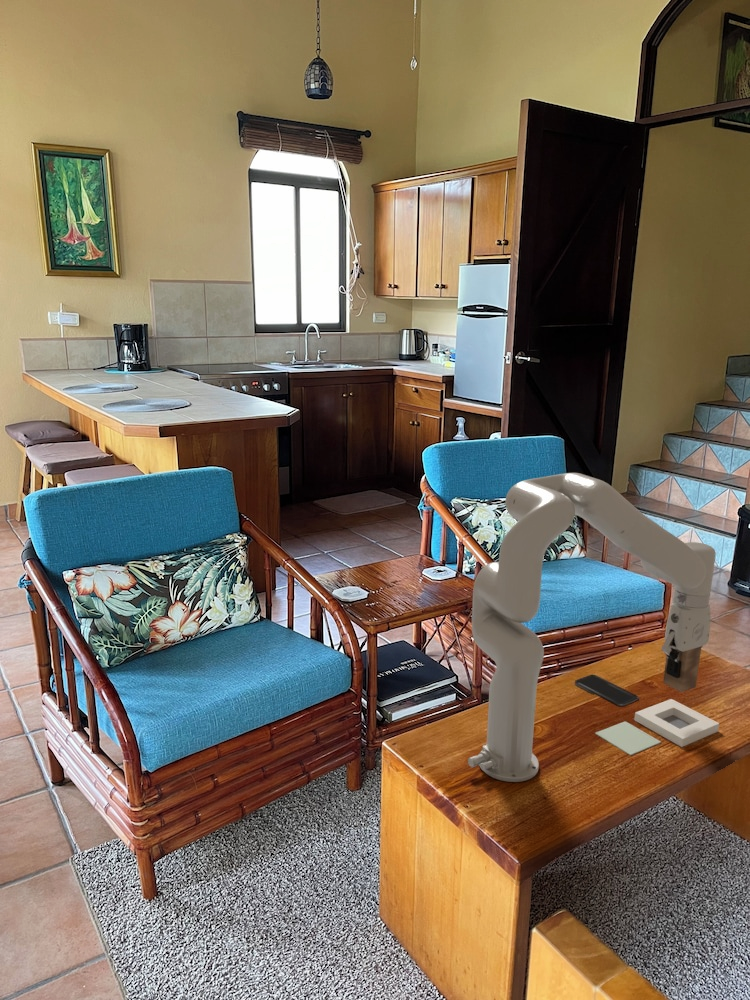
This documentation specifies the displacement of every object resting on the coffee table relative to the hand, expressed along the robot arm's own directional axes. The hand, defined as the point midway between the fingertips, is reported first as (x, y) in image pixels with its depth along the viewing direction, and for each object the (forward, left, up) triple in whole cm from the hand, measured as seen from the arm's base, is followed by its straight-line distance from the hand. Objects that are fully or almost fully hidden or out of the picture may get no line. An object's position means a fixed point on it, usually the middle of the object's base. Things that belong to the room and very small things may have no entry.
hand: (681, 672), depth 168 cm
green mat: (-14, +2, -14) cm, 20 cm away
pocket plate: (0, 0, -14) cm, 14 cm away
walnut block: (0, 0, -3) cm, 3 cm away
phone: (-1, +20, -15) cm, 25 cm away
